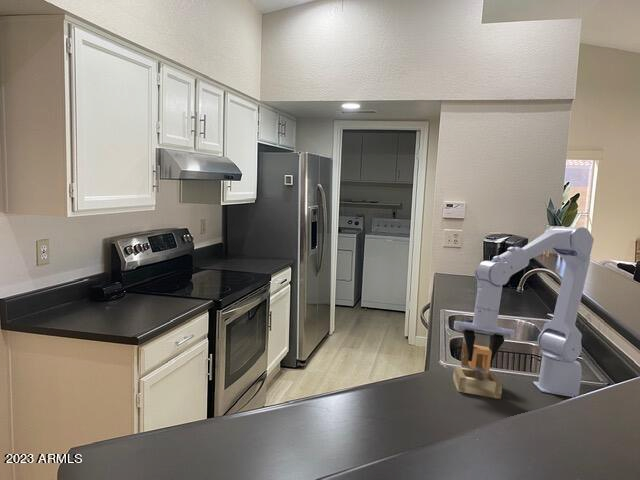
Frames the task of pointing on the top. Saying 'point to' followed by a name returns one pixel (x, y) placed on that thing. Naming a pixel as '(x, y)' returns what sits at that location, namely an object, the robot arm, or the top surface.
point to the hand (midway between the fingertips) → (479, 361)
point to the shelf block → (477, 382)
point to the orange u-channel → (486, 357)
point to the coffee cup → (480, 341)
